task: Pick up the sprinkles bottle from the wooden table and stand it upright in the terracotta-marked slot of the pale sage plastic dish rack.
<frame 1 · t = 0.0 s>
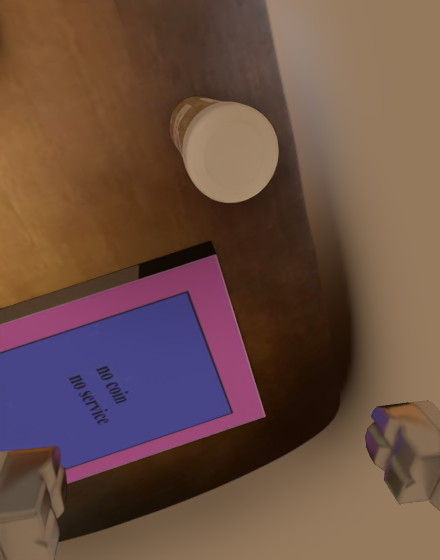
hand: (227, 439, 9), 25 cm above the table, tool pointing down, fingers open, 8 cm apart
book: (101, 373, 38), on the table
sprinkles bottle: (198, 128, 29), on the table
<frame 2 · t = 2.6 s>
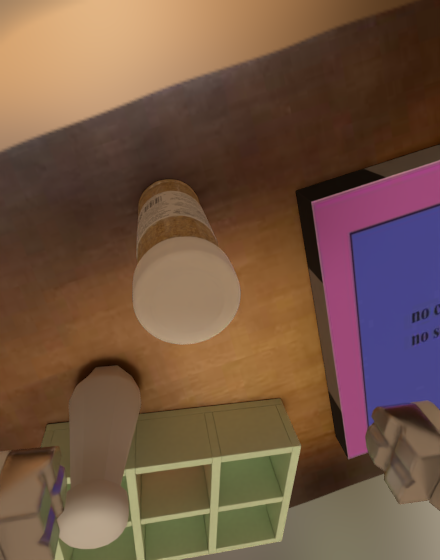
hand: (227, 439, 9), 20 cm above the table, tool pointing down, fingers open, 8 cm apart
salt shaker: (108, 381, 33), on the table
book: (420, 304, 36), on the table
rack: (172, 461, 40), on the table
sprinkles bottle: (169, 207, 27), on the table
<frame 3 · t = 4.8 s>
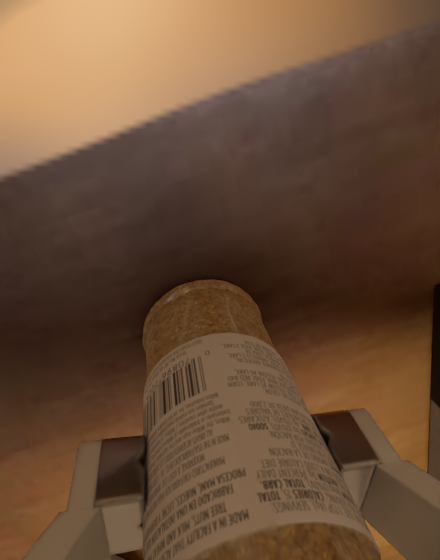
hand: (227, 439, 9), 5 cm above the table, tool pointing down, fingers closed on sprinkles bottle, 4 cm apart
sprinkles bottle: (202, 323, 14), on the table, touching gripper
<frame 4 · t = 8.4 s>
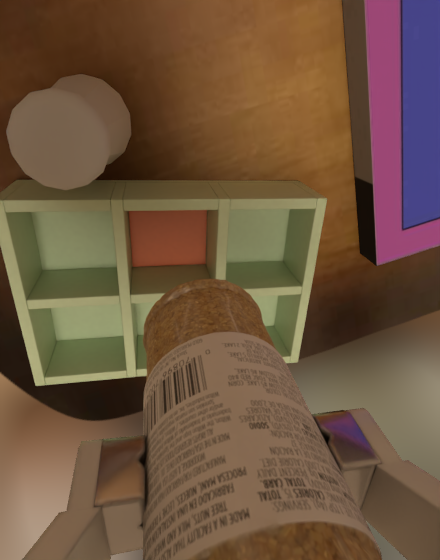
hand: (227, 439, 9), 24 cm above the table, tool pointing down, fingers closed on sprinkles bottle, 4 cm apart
salt shaker: (92, 120, 27), on the table
rack: (169, 265, 33), on the table
sprinkles bottle: (202, 323, 14), point 19 cm above the table, touching gripper
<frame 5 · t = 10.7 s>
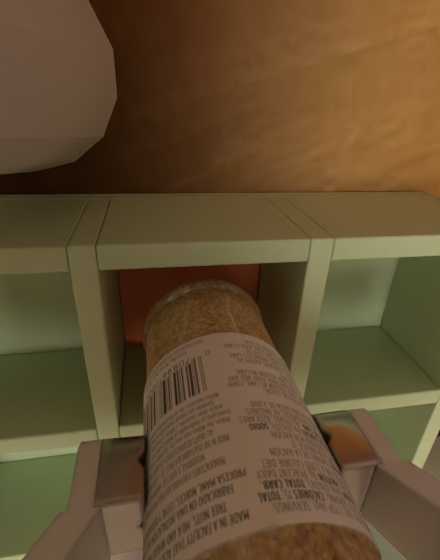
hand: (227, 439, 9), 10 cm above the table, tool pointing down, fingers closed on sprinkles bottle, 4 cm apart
salt shaker: (38, 72, 13), on the table
rack: (189, 337, 20), on the table
sprinkles bottle: (202, 323, 14), point 4 cm above the table, touching gripper
when the fingers open (6 cm above the table, at t = 12.1 s): sprinkles bottle stays where it is, resting on rack.
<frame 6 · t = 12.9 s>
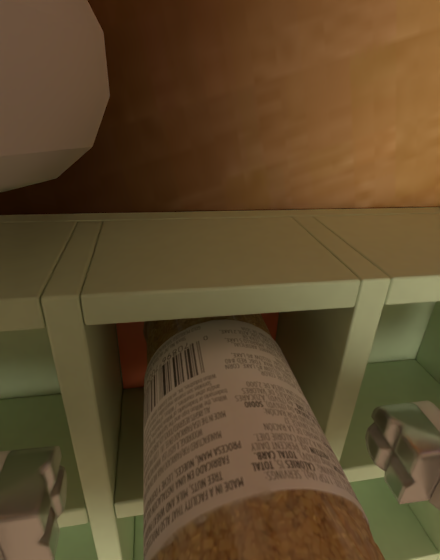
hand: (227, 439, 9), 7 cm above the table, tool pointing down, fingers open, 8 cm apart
salt shaker: (12, 65, 11), on the table
rack: (197, 373, 17), on the table
sprinkles bottle: (201, 314, 14), point 1 cm above the table, touching rack
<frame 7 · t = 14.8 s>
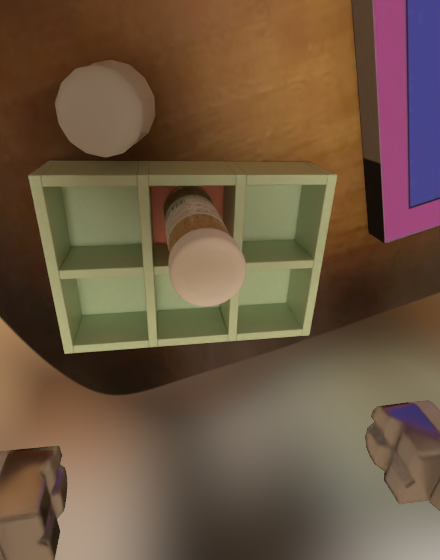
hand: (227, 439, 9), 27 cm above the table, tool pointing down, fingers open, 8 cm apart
salt shaker: (118, 104, 29), on the table
rack: (187, 243, 36), on the table
sprinkles bottle: (188, 208, 33), point 1 cm above the table, touching rack
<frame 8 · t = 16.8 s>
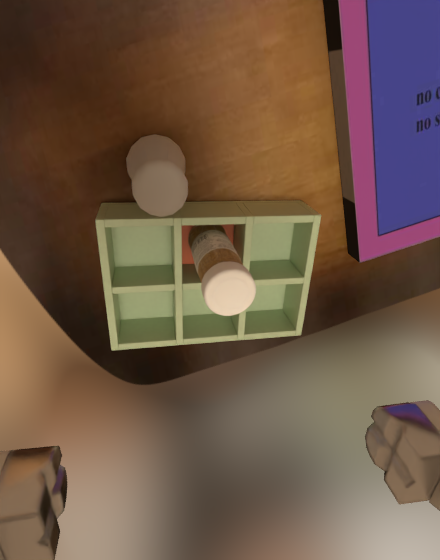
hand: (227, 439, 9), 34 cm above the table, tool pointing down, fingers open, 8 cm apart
salt shaker: (155, 160, 39), on the table
book: (424, 107, 41), on the table
rack: (204, 263, 45), on the table
sprinkles bottle: (206, 236, 43), point 1 cm above the table, touching rack
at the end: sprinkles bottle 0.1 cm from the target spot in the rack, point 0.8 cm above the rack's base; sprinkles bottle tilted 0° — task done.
